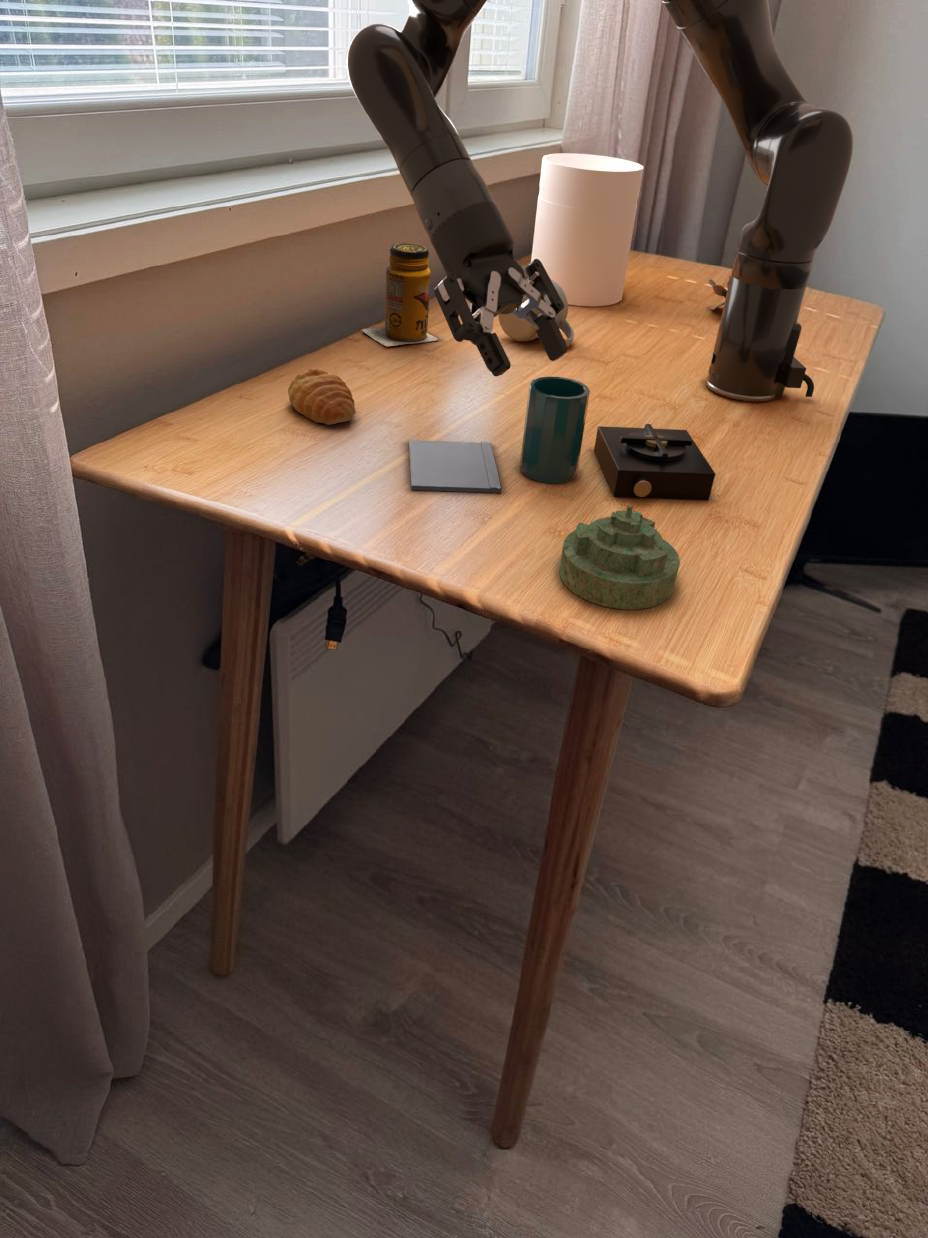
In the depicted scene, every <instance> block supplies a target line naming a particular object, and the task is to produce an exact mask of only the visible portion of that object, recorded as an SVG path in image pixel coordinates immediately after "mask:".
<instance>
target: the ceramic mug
mask: <svg viewBox="0 0 928 1238" xmlns="http://www.w3.org/2000/svg"><path fill="white" fill-rule="evenodd" d="M551 281H552V283H553V285H554V287H555V289H556V290H557V292H558V294H559V296H560V298H561V300H562V302H563V303H564V309H563V310H561V311H560V312H559V313H558V314H557V315H556V316H555V322H556V324H557V326H558V328H559V330H560V331H562V332H563V334H564V335H565V336H566V338H567V339H564V340H565V342H566V347H567V348H568V347H570V345H571V344H572V342H573V341H574V339H575V332H574V329H573V327H572V326H571V324H570V323H569V322H568V321H567V317H568V314H569V305H568V302H567V298H566V296H565V293H564V292H563V290H562V288H561V287H560V286H559V285H558V284H557V283H556V282H554V281H553V280H551ZM527 299H528V298H527V297H526V296H525V295H524V297H523V301H522V304H523V303H524V302H525V301H526V300H527ZM544 299H545V301H546V303H547V304H548V305H550V304H551V302H550V300H549V298H548V296H547V295H545V297H544ZM532 311H533V312H534V313H536V314H537V315H539V314H540V312H539V311H538V310H536V309H532ZM497 316H498V322H499V326H500V327H501V329H502V331H503V332H504V334H505V335H506V336H507V337H509V338H510V339H511V340H514V341H516V342H529V341H533V340H535V339H539V337H538V335H537V333H536V330H538V329H536V328H535V327H534V326H533V325H531V324H530V323H529V322H528V321H527V320H525V319H524V318H522V319H519V318H517V317H516V316H515V315H513V314H512V313H510V314H506V315H505V314H499V315H497Z"/></svg>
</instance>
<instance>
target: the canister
mask: <svg viewBox="0 0 928 1238" xmlns="http://www.w3.org/2000/svg"><path fill="white" fill-rule="evenodd" d="M644 169H645V168H644V165H642V164H641V163H638V162H635V161H633V160H629V159H625V158H618V157H613V156H607V155H599V154H589V153H576V152H575V153H573V152H570V153H569V152H567V153H565V152H561V153H560V152H559V153H549V154H545V155H543V157H542V158H541V166H540V175H539V185H538V187H539V192H538V196H537V203H536V213H535V220H534V221H535V222H534V230H533V231H534V232H533V239H532V249H531V257H530V258H531V259H530V263H531V262H532V261H533V260H534V259H538V260H540V261H541V263H542V264H543V266H544V268H545V270H546V272H547V274H548V276H549V277H550V279H551V280H553V281H554V282H556V283H557V284H558V285H559V286H560V287H561V288H562V290H563V292H564V293H565V296H566V298H567V302H568V306H569V305H570V306H576V307H577V306H578V307H605V306H611V305H615V304H618V303H620V302H621V301H622V300H623V294H624V288H625V282H626V275H627V269H628V265H629V264H628V263H629V258H630V253H631V246H632V241H633V234H634V227H635V222H636V216H637V211H638V200H639V198H640V194H641V193H640V191H641V185H642V180H643V175H644Z"/></svg>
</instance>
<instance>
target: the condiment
mask: <svg viewBox="0 0 928 1238" xmlns="http://www.w3.org/2000/svg"><path fill="white" fill-rule="evenodd" d="M429 254H430V251H429V249H428V248H427V247H426V246H424V245H422V244H417V243H409V242H408V243H407V242H402V243H400V242H399V243H395V244H392V245H391V246H390V248H389V259H388V261H389V264H388V266H387V267H386V270H385V302H384V303H385V305H384V310H385V311H384V326H381V327H374V328H369V327H368V328H362V329H361V331H363V332H364V333H365V334H366V335H367V336H369V337H370V338H371V339H373V340H375V342H378V343H380V344H381V345H383V346H385V347H393V346H395V347H396V346H399V345H400V346H401V345H406V344H407V345H409V344H420V343H428V342H437V341H438V340H439V338H438V337H436V336H434V335H431V334H430V333H428V325H429V312H430V311H429V309H430V308H429V306H430V304H429V303H430V288H431V270H430V268H429V263H430V261H429Z"/></svg>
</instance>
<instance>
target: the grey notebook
mask: <svg viewBox="0 0 928 1238" xmlns="http://www.w3.org/2000/svg"><path fill="white" fill-rule="evenodd" d="M408 457H409V458H408V459H409V475H410V490H411V491H426V492H427V491H429V492H430V491H431V492H457V493H459V492H461V493H485V494H486V493H487V494H488V493H489V494H490V493H491V494H501V493H502V487H501V482H500V477H499V473H498V468H497V464H496V460H495V454H494V451H493V446H492V443H491V442H487V441H480V442H471V441H470V442H468V441H449V440H448V441H443V440H421V439H408Z"/></svg>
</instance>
